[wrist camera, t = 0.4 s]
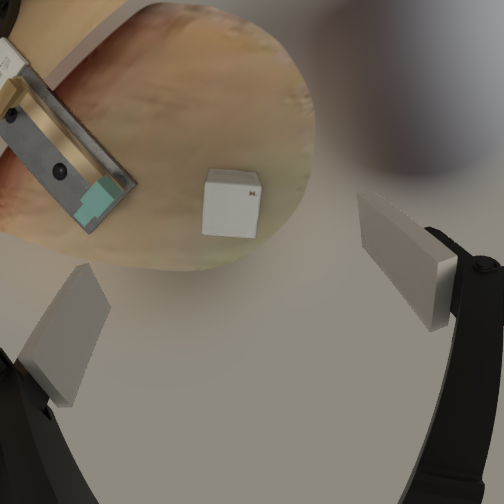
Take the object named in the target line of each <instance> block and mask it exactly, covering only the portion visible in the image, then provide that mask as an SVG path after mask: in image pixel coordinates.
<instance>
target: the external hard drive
mask: <svg viewBox="0 0 504 504" xmlns="http://www.w3.org/2000/svg"><path fill="white" fill-rule="evenodd" d="M26 66H29V63H28V62H27V61H26V59H25V58H24V57H23V56H22V55H21V54H20V53H19V52H18V51H17V49H16V48H15V47H14V46H13V45H12V44H11V43H10V42H9V41H8V39H7V38H5V37H2V38H1V39H0V89H1V88H2V86H3V85H4V83H5V82H6V80H7V79H8V78H13V77H14V76H19V75H20V74H21V72H22V71H23V70H24V68H25V67H26Z"/></svg>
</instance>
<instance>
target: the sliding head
mask: <svg viewBox="0 0 504 504" xmlns="http://www.w3.org/2000/svg"><path fill="white" fill-rule="evenodd" d="M121 193H122V191H121V190H120V189H119V188H118V187H117V185H116V184H115V183H114V182H113V181H112V180H111V179H110V178H109V177H108V176H107V175H105V176H103V177H102V178H100V179H99V180H97V181H96V182H95V183H94V184H93V185H92V187H91V188H90V189H89V190H88V191H87V192H86V194H85V195H84V196H83V197H82V198H81V200H80V201H81V202H82V203H83V205H82V206H81V207H80V208H79V209H78V211H77V212H76V213H75V214H74V217H75V218H76V219H77V220H78V221H79V222H80V223H81V224H82V225H83V226H84V227H85V226H86V225H87V224H88V223H89V222H90V221H91V220H92V218H93V217H94V216H96V217H97V218H98V217H99V216H100V215H101V214H102V213H103V212H104V211H105V210H106V209H107V208H108V207H109V206H110V205H111V204H112V203H113V202H114V201H115V200H116V199H117V198H118V196H119V195H120V194H121Z"/></svg>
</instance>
